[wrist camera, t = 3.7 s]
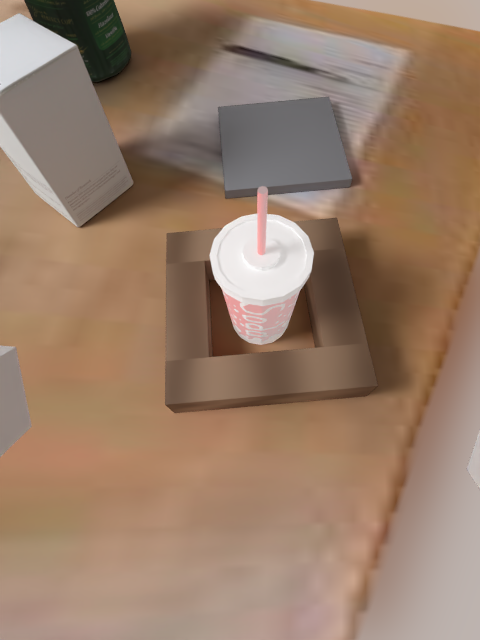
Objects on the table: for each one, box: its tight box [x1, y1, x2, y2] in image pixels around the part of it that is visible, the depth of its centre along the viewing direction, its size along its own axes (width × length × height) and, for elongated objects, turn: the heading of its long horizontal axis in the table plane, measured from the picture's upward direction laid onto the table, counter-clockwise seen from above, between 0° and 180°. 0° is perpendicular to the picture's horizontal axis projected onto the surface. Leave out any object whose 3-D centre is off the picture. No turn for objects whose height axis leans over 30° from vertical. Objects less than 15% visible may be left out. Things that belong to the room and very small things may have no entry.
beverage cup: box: [209, 186, 314, 345], centre depth 23 cm, size 6×6×14 cm
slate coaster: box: [218, 97, 352, 198], centre depth 37 cm, size 12×12×1 cm
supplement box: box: [0, 14, 133, 227], centre depth 30 cm, size 7×7×13 cm
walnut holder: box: [165, 218, 378, 413], centre depth 28 cm, size 14×14×3 cm
